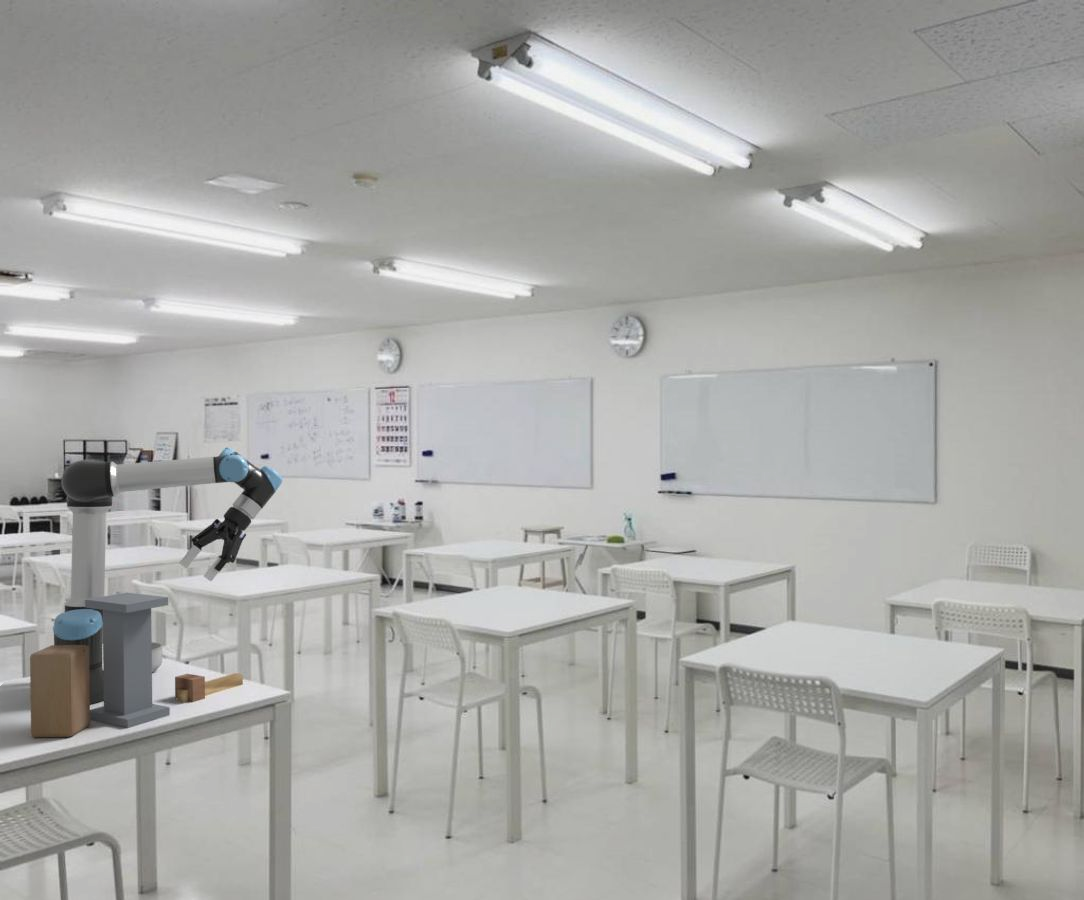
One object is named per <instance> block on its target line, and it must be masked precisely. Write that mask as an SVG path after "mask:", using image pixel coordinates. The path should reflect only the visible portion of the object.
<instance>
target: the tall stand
mask: <svg viewBox="0 0 1084 900" xmlns="http://www.w3.org/2000/svg"><path fill="white" fill-rule="evenodd" d="M165 606H169V597H168V596H161V595H153V594H152V595H151V594H143V593H134V592H123V593H117V594H111V595H104V597H98V598H92V599H86V600H85V608H92V609H100V610H103V644H102V667H103V679H104V700H103V705H102V706H99V707H96V708H90V721H96V722H101V723H104V724H109V725H113V726H117V727H122V728H127V729H129V728H132V727H135V726H139V725H142V724H145V723H149V722H153V721H155V720H158V719H161V718H164V717H167V716H170V714H171V712H170V711H171V710H170V709H171V708H170V706H167V705H161V704H157V703H153V672H152V642H153V641H152V640H153V639H152V609H155V608H160V607H165Z"/></svg>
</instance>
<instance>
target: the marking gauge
mask: <svg viewBox="0 0 1084 900" xmlns="http://www.w3.org/2000/svg"><path fill="white" fill-rule="evenodd" d="M243 677H244V675H243V674H241V673H236V672H234V673H231V674H228V675H225V676H220V677H217V678H213V679H210V680H206V677H205V676H204V675H203V676H202V675H197V674H191V673H184V674H181V675H177V676H175V677H174V689H175V690H174V696H175V697H174V698H175V699H176V701H178V702H182V703H186V702H191V703H195V702H197V701H202V700H205V699H206V697H207V696H209V695H213V694H216V693H219V692H222V691H226V690H230V689H232V688H235V687H240V686H243V685H244V684H243V683H244V681H243V680H244V678H243Z"/></svg>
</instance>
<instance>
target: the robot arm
mask: <svg viewBox="0 0 1084 900" xmlns="http://www.w3.org/2000/svg"><path fill="white" fill-rule="evenodd" d="M60 483H61V487H62V490H63V492H64V493H65V494H66V507H67V509H68V510H69V511H71V512H72V526H71V528H72V532H71V534H72V535H71V573H70V577H71V578H70V582H71V583H70V597H69V599H67V601H65V602H64V612H62V613H60V614H58V615H57V616H55V618H54V622H53V627H52V631H53V645H86V646H88V647H89V677H90V705H92V704H96V703H99V702H100V703H101V702H104V679H103V610H100V609H92V608H85V600H86V599H92V598H98V597H104V596H105V583H106V582H105V581H106V539H107V538H106V537H107V532H106V531H107V512H109V511H110V510H111V508H112V507H113V497H116V496H118V495H119V494H120V493H123V492H124V493H125V492H135V491H146V490H147V491H148V490H155V489H156V490H157V489H168V488H176V487H187V486H198V485H209V484H223V483H233V484H236V485H237V486H238V487H239V488H241V489H243V490H242V492H241V494H239V495H238V497H237V498H236V499H235V500H234V502H233V503H232V506H231V507H230V506H229V508H228V509H227V511H226V512H225V513H224V514H223V518H224V520H223V521H221V520H219V519H218V518H216V519H215V520H214V521H213V522H212V523H211V524H210V525H208V526H207V527H205V528H204V529H203V530H202V531H200V532H199V533H198V534H196V535H195V536H194V537H192V538H191V542H192V546H191V547H190V548H189V549H188V550H187V552H186V553H185V555H184V556H183V558H182V559H181V560H180V561H179V564H180V565H181V566H183V568H185V569H188V568H189V566H190V565H191V564H192V563H193V561H194V560H195V559H196V558H197V556H198V555H199V554H200V552H202V549H203V547H206V546H207V545H209V544H211V543H213V542H215V541H217V540H222V541H223V544H222V545H223V546H222V550H221V555H219V556H218V557H217V558H216V560H215V561H214V562H213V563H212V565H210V567H209V568H208V570H207V571H206V572H205V574H204V575H203V577H204V578H205V579H207V580H208V581H210V582H212V581H213V580H214V579H215V577H216V576H217V575H218V574H219V573H220V572H221V571H222V569H223V568H224V567H226V564H229V563H232V564H234V562H235V561H236V559H237V556H238V553H239V551H240V549H241V546H242V544H243V540H244V539H245V538H246V536H247V534H246V532H245V531H246V529H247V528H248V527H249V526H250V525H251V524H252V520H255V518H256V517H257V515H258V514H259V513H260V511H261V510H262V509H263V508H264V507H265V506H266V504H268V502H269V500H270V499H271V498H272V497H273V496H274V494H275V493H276V492H277V490H278V489H279V487H280V486H281V485H282V483H283V478H282V476H281V475H280V474H279V473H278V472H277V471H276V470H274V469H273V468H271V467H269V466H267V465H265V466H262V467H261V468H259V467H256V466H255V465H254V464H253V463H251V462H250V461H248V459H246V458H245V457H244V456H242V455H241V454H239V452H237V451H236V450H234V449H232V448H231V447H228V446H227V447H225V448H223V450H222V451H221V453H219V455H218V456H206V457H205V456H204V457H197V458H194V457H193V458H184V459H183V458H182V459H171V460H169V459H168V460H158V461H156V460H155V461H146V462H135V463H134V462H133V463H121V464H117V463H115V462H114V461H102V460H100V459H93V458H90V459H81V460H80V459H79V460H77V461H74V462H72V463H71V464H69V465H68V466H67V467H66V468H65V469H64V471H63V473H62V476H61V482H60Z"/></svg>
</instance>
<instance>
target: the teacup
mask: <svg viewBox="0 0 1084 900" xmlns="http://www.w3.org/2000/svg"><path fill="white" fill-rule="evenodd" d="M162 663H163V644H162V643H160V642H156V641H155V642H154V641H152V673H155V672H156V671H157V670H158V669H159V668H160V667H161V666H162Z"/></svg>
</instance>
